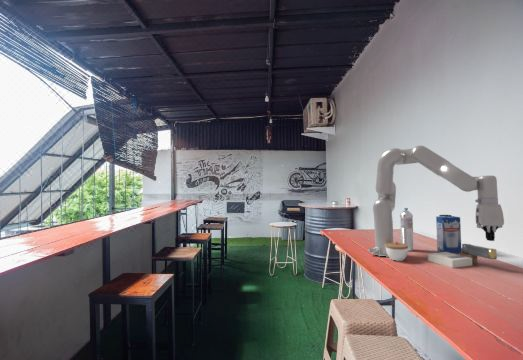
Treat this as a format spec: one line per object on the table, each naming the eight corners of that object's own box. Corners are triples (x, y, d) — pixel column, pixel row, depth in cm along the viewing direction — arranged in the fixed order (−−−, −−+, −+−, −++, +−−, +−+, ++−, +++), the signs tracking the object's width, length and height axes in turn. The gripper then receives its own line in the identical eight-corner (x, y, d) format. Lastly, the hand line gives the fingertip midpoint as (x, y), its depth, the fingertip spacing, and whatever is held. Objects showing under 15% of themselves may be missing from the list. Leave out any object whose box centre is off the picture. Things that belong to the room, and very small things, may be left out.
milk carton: (443, 253, 163) (442, 217, 164) (437, 250, 169) (436, 216, 170) (461, 252, 163) (460, 217, 163) (454, 250, 169) (453, 216, 169)
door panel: (452, 267, 135) (452, 259, 135) (428, 260, 149) (427, 253, 149) (472, 265, 138) (472, 257, 138) (446, 258, 152) (446, 251, 152)
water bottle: (411, 248, 176) (409, 207, 176) (415, 251, 169) (414, 208, 170) (399, 248, 177) (397, 207, 177) (403, 251, 170) (402, 208, 170)
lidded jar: (386, 261, 148) (386, 243, 149) (385, 256, 159) (384, 239, 159) (410, 263, 145) (409, 244, 145) (406, 257, 155) (406, 240, 155)
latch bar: (460, 252, 144) (460, 243, 144) (466, 251, 145) (466, 243, 145) (492, 259, 129) (492, 250, 129) (499, 258, 130) (498, 249, 130)
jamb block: (471, 264, 139) (470, 255, 140) (459, 261, 145) (459, 252, 145) (477, 264, 141) (477, 254, 141) (465, 261, 146) (465, 251, 146)
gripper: (475, 202, 135) (478, 242, 134) (510, 201, 133) (513, 241, 133) (466, 201, 142) (468, 239, 142) (499, 200, 141) (501, 238, 140)
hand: (490, 240), depth 137 cm, fingers closed
